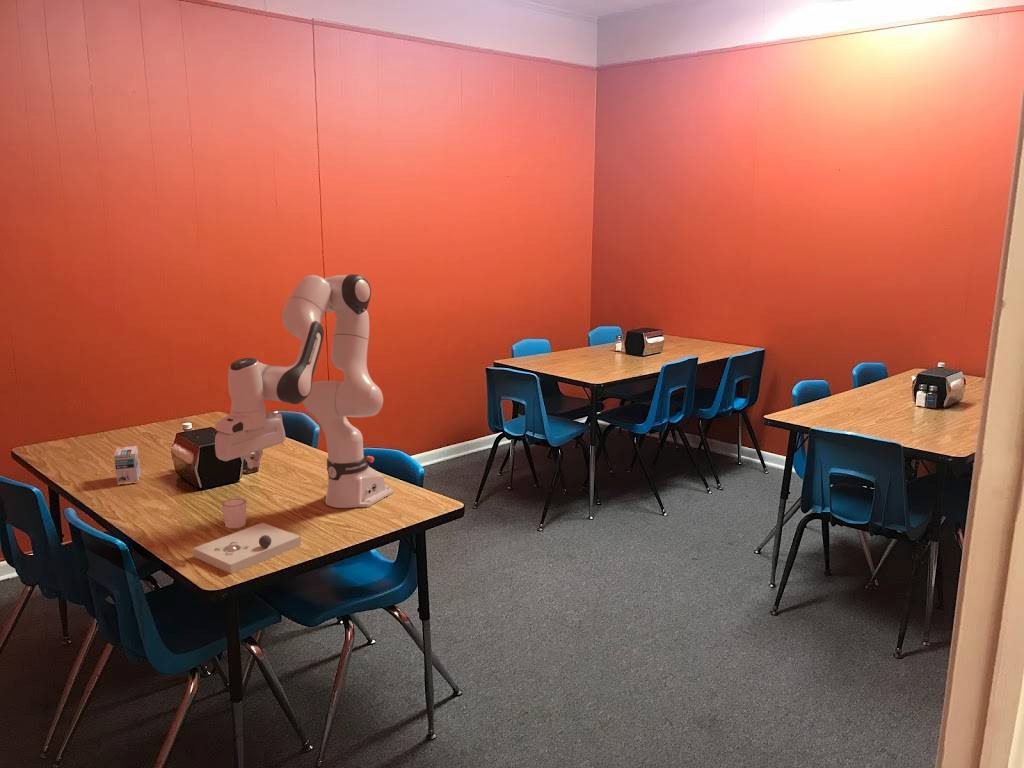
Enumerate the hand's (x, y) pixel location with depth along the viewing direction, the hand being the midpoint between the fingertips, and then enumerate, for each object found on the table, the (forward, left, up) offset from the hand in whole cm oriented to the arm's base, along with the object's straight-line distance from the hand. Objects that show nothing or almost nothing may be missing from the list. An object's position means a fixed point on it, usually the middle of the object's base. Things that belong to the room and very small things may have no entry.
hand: (254, 466), depth 213 cm
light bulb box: (-5, -81, -22) cm, 84 cm away
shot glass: (-3, -16, -22) cm, 27 cm away
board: (+6, +3, -22) cm, 23 cm away
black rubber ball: (+5, +10, -18) cm, 21 cm away
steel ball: (+11, +3, -20) cm, 23 cm away
